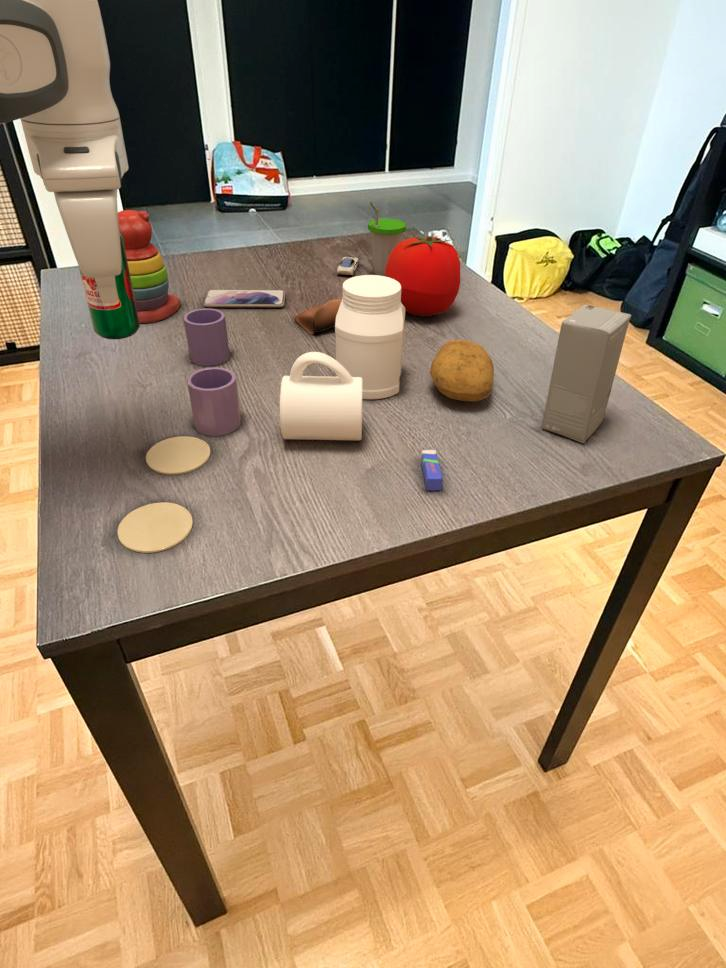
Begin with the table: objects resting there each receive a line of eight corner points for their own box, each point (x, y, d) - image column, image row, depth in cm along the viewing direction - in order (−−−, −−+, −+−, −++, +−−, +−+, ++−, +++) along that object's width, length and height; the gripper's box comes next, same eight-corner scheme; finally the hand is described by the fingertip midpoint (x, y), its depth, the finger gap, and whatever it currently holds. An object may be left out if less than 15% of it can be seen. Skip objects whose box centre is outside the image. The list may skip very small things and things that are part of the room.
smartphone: (283, 304, 116) (202, 304, 115) (284, 308, 117) (203, 308, 116) (285, 289, 121) (208, 289, 121) (285, 293, 122) (208, 293, 121)
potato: (424, 409, 90) (428, 366, 85) (432, 368, 100) (436, 327, 95) (489, 416, 89) (496, 373, 84) (490, 374, 98) (497, 333, 94)
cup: (401, 268, 135) (405, 194, 126) (405, 281, 129) (410, 204, 120) (365, 268, 135) (367, 193, 125) (367, 281, 129) (369, 204, 119)
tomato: (454, 329, 111) (464, 252, 103) (378, 322, 113) (381, 245, 104) (458, 296, 123) (467, 224, 115) (389, 291, 125) (393, 219, 116)
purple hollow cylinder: (193, 368, 98) (186, 326, 93) (188, 351, 102) (181, 310, 98) (232, 363, 99) (227, 321, 95) (225, 346, 104) (220, 306, 100)
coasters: (119, 560, 65) (119, 558, 65) (111, 449, 80) (111, 447, 80) (234, 535, 68) (234, 533, 68) (205, 433, 84) (205, 431, 83)
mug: (361, 452, 81) (363, 370, 73) (281, 451, 81) (275, 368, 73) (361, 418, 87) (363, 339, 80) (287, 417, 87) (282, 338, 80)
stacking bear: (182, 301, 118) (165, 202, 107) (173, 323, 110) (154, 219, 99) (124, 301, 118) (101, 201, 106) (111, 324, 110) (85, 218, 99)
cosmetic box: (583, 445, 83) (616, 336, 73) (534, 427, 87) (559, 319, 77) (605, 419, 89) (638, 313, 79) (558, 402, 92) (584, 299, 82)
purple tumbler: (198, 439, 82) (190, 393, 78) (192, 415, 87) (184, 370, 83) (244, 431, 84) (239, 386, 80) (236, 408, 89) (230, 364, 84)
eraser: (435, 461, 80) (436, 449, 78) (441, 491, 75) (443, 478, 74) (420, 461, 80) (421, 449, 78) (425, 491, 75) (426, 478, 74)
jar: (397, 402, 91) (404, 303, 82) (332, 397, 92) (332, 299, 82) (402, 365, 100) (408, 272, 91) (343, 361, 101) (343, 268, 91)
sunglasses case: (370, 296, 121) (382, 272, 115) (388, 325, 119) (401, 302, 113) (290, 317, 112) (298, 293, 107) (308, 348, 111) (318, 325, 105)
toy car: (361, 259, 139) (361, 247, 137) (352, 278, 130) (352, 265, 128) (345, 258, 139) (345, 246, 138) (335, 276, 130) (335, 264, 129)
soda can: (85, 337, 71) (58, 228, 64) (111, 320, 75) (88, 216, 68) (124, 344, 70) (101, 234, 63) (149, 326, 74) (129, 221, 67)
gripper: (45, 133, 68) (76, 261, 76) (40, 176, 53) (79, 329, 61) (107, 132, 69) (130, 257, 78) (118, 173, 55) (146, 322, 63)
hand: (108, 289), depth 69 cm, fingers closed on soda can, 5 cm apart
